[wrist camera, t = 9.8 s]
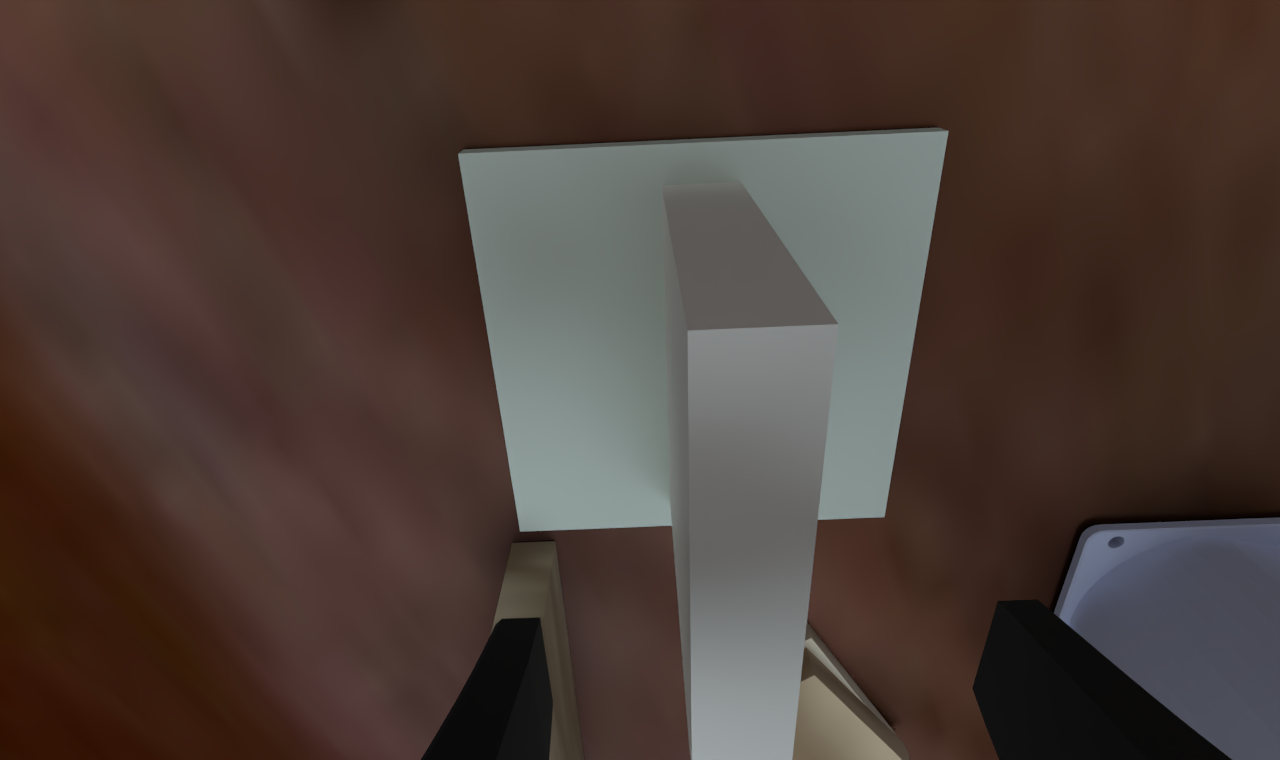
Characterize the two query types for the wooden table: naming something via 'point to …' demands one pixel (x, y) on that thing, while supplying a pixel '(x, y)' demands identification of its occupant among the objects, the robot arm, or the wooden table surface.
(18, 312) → the wooden table surface
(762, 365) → the gray rectangular slab
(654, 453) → the mat
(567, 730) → the corner fence
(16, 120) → the wooden table surface
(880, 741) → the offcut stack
